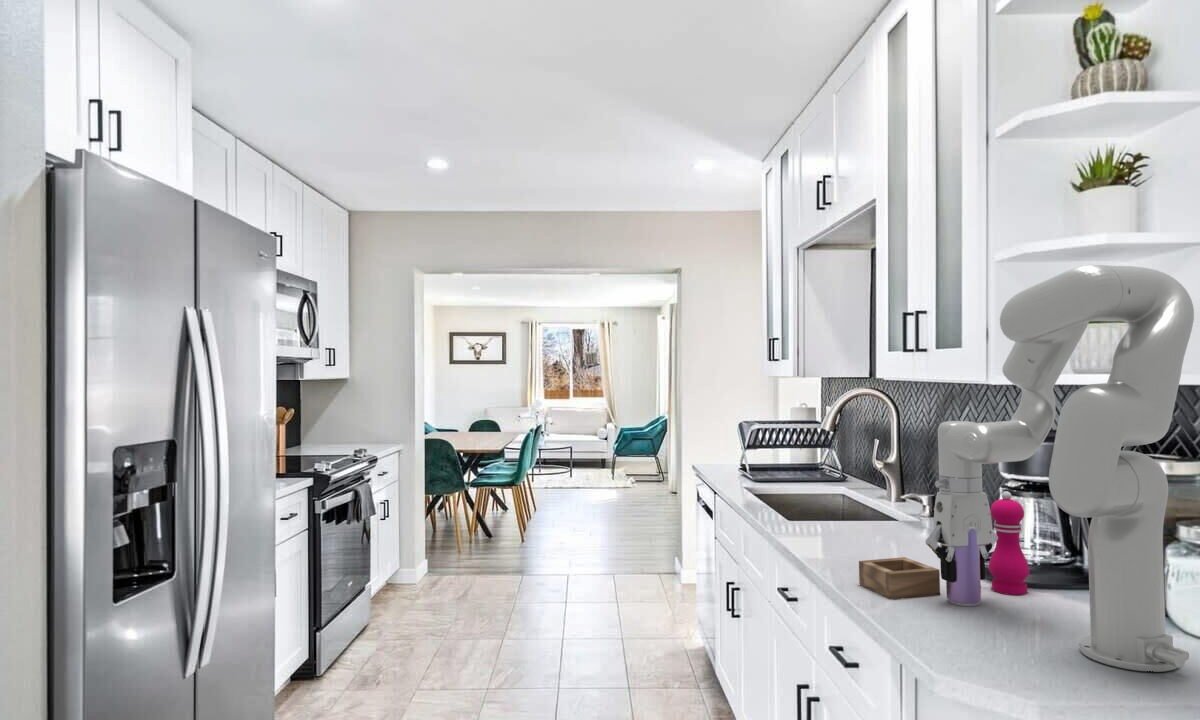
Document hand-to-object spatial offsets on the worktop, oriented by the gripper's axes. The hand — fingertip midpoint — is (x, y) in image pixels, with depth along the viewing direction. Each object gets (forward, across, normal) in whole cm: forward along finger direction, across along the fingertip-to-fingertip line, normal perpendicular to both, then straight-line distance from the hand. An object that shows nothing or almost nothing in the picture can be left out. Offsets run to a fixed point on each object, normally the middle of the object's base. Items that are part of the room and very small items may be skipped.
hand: (963, 578), depth 145 cm
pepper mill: (+5, +14, +4) cm, 15 cm away
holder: (+5, -6, +11) cm, 14 cm away
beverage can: (+5, 0, 0) cm, 5 cm away
